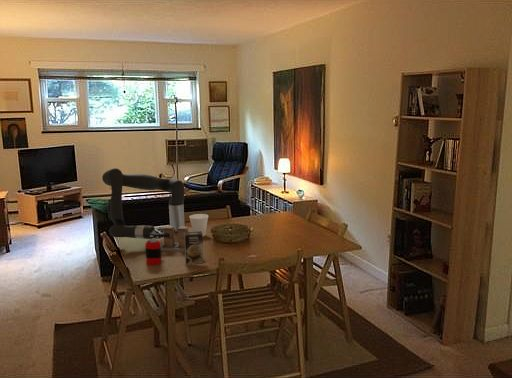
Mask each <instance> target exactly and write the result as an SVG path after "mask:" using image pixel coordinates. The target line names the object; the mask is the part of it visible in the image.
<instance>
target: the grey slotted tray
mask: <svg viewBox="0 0 512 378" xmlns="http://www.w3.org/2000/svg"><path fill="white" fill-rule="evenodd" d="M160 247H161V252H176V253H185V249H182V248H179V244H178V242H175V247H174V248H164V243H162V244H160Z"/></svg>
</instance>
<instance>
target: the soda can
mask: <svg viewBox="0 0 512 378" xmlns="http://www.w3.org/2000/svg"><path fill="white" fill-rule="evenodd" d="M144 245H145V247H144V248H145V259H146V260H145V261H146V264H147V265H148V266H157V265H161V263H162V253H161V252H162V251H161V247H160V246H161V242H160V240H159V239H156V238H153V239H147V241H146V242H145V244H144Z"/></svg>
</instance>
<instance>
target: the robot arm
mask: <svg viewBox="0 0 512 378" xmlns="http://www.w3.org/2000/svg"><path fill="white" fill-rule="evenodd" d="M101 178H102V181H103V183H104V184H105V185H107V186H110V189H111V195H110V201H109V218H110V220H111V221H112V222H113V225H112V226H110V228H109V229H108V231H109V233H108V234H109V235H110V236H111V237H112V238H130V239H131V238H132V239H141V240H151V239H157V240H159V239H162V238H163V239H164V237H170V234H169V233H164V230H163V228H164V227H165V226H163V227H162V226H159V227H158V228H155V226H154V225H145V224H144V225H140V224H139V225H126V223H125V219H124V213H123V198H122V196H123V187H128V188H132V189H138V190H145V191H155V190H156V191H163V192H167V193H170V194H171V198H169V200H168V210H169V211H168V213H169V226H174V234H175V233H176V232H177V233H178V228H179V227H180V226H184V227H185V212H184V211H185V209H184V207H185V206H184V201H185V184H184V182H183V181H181V180H180V179H176V178H160V177H157V176H154V175H150V174H142V173H132V174H130V173H129V174H127V173H126V174H125V173H123V172H122V171H121V169H119V168H115V167H113V168H110V169H109V170H106V171H105V172H104V173H103V174H102V177H101Z"/></svg>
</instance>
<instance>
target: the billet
mask: <svg viewBox="0 0 512 378" xmlns="http://www.w3.org/2000/svg"><path fill="white" fill-rule="evenodd" d="M163 227H164V228H163V230H164V233H169V234H170V237H163V244H164V248H174V247H175V243H176V242H175V239H176V238H175V233H174V226H170V225H165V226H163Z"/></svg>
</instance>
